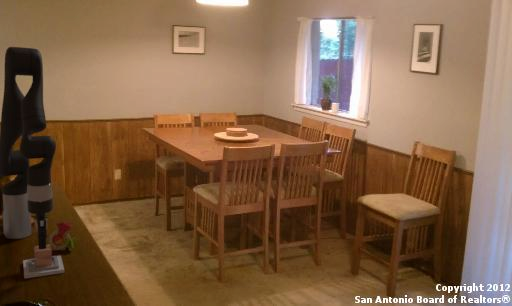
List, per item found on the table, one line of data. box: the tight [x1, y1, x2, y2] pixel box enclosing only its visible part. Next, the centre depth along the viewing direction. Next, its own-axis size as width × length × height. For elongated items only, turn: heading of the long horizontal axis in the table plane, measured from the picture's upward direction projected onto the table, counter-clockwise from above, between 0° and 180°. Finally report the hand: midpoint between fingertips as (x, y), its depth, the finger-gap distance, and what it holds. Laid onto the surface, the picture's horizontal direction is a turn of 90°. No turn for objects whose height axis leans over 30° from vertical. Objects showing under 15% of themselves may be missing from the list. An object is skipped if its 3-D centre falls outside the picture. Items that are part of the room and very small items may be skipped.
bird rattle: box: [48, 221, 78, 252], centre depth 184 cm, size 6×11×9 cm
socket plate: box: [22, 255, 65, 279], centre depth 170 cm, size 12×12×2 cm
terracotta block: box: [33, 243, 53, 268], centre depth 169 cm, size 5×5×6 cm
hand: (41, 243), depth 168 cm, fingers open, 8 cm apart
